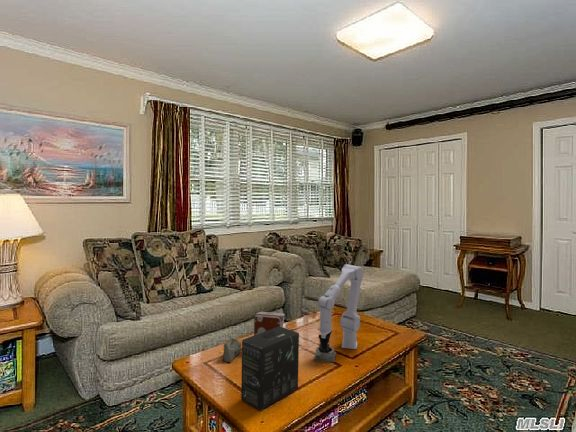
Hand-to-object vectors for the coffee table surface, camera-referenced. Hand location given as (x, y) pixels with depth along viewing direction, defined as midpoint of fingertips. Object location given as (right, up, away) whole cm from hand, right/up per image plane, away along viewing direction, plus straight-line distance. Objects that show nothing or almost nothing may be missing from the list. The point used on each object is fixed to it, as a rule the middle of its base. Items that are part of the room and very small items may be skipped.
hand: (325, 347), depth 176 cm
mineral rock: (-46, -5, -1) cm, 47 cm away
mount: (0, -5, 0) cm, 5 cm away
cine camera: (-26, -5, +6) cm, 28 cm away
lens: (0, -2, 0) cm, 2 cm away
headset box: (-26, -7, -34) cm, 43 cm away
